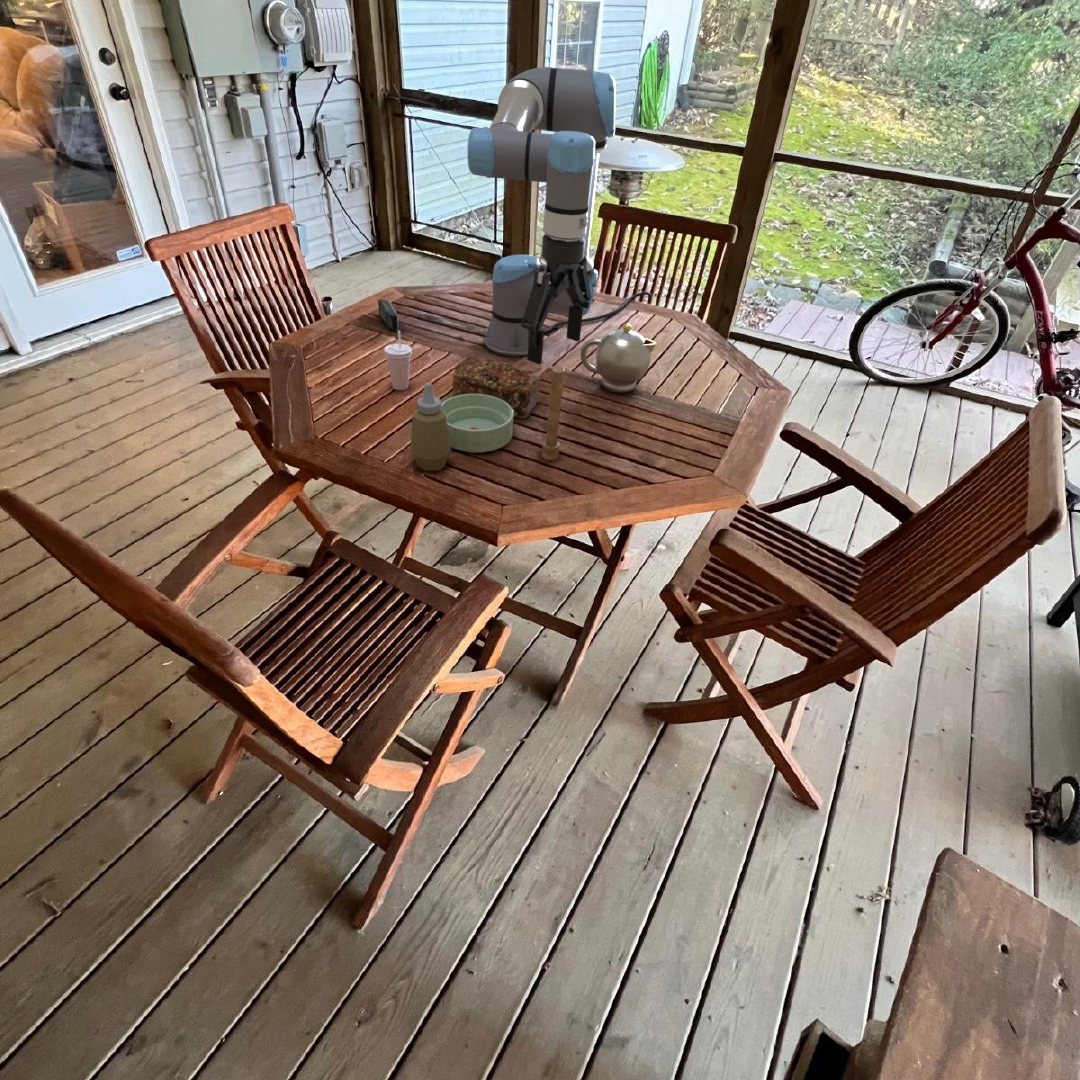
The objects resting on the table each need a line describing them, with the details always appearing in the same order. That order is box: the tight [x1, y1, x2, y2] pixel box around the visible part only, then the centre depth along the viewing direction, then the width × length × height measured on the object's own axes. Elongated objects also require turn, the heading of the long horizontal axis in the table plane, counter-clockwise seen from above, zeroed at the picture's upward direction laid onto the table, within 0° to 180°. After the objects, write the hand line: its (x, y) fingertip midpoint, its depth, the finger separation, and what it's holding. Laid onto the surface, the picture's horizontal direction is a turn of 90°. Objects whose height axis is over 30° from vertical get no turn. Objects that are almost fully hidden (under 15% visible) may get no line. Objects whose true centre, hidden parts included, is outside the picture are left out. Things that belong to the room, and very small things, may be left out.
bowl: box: [441, 394, 514, 454], centre depth 150 cm, size 16×16×6 cm
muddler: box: [541, 366, 565, 461], centre depth 141 cm, size 4×4×20 cm
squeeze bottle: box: [410, 382, 452, 472], centre depth 136 cm, size 8×8×18 cm
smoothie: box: [383, 330, 413, 391], centre depth 162 cm, size 6×6×14 cm
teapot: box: [579, 323, 657, 394], centre depth 170 cm, size 18×14×16 cm
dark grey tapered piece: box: [377, 299, 402, 334], centre depth 193 cm, size 5×3×15 cm
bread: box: [451, 356, 542, 420], centre depth 160 cm, size 19×11×10 cm, turn 72°
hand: (554, 350), depth 133 cm, fingers open, 13 cm apart
